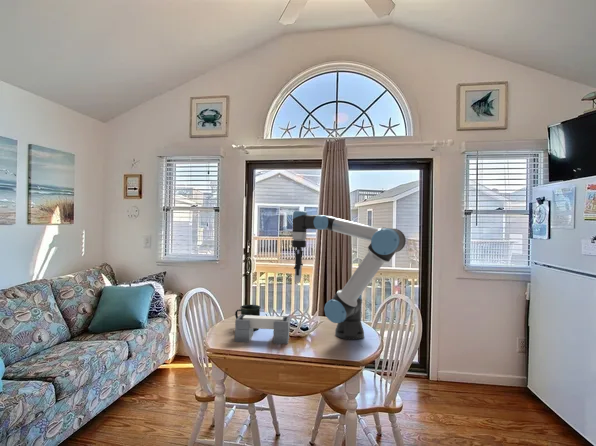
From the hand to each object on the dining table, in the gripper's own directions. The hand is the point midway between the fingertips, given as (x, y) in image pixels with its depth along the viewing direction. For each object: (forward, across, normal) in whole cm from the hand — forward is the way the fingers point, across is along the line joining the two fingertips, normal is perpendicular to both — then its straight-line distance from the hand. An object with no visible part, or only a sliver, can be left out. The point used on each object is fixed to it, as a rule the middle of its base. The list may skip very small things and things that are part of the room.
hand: (298, 279), depth 187 cm
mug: (+29, -5, -28) cm, 41 cm away
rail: (+23, +12, -17) cm, 31 cm away
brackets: (+29, +12, -16) cm, 35 cm away
